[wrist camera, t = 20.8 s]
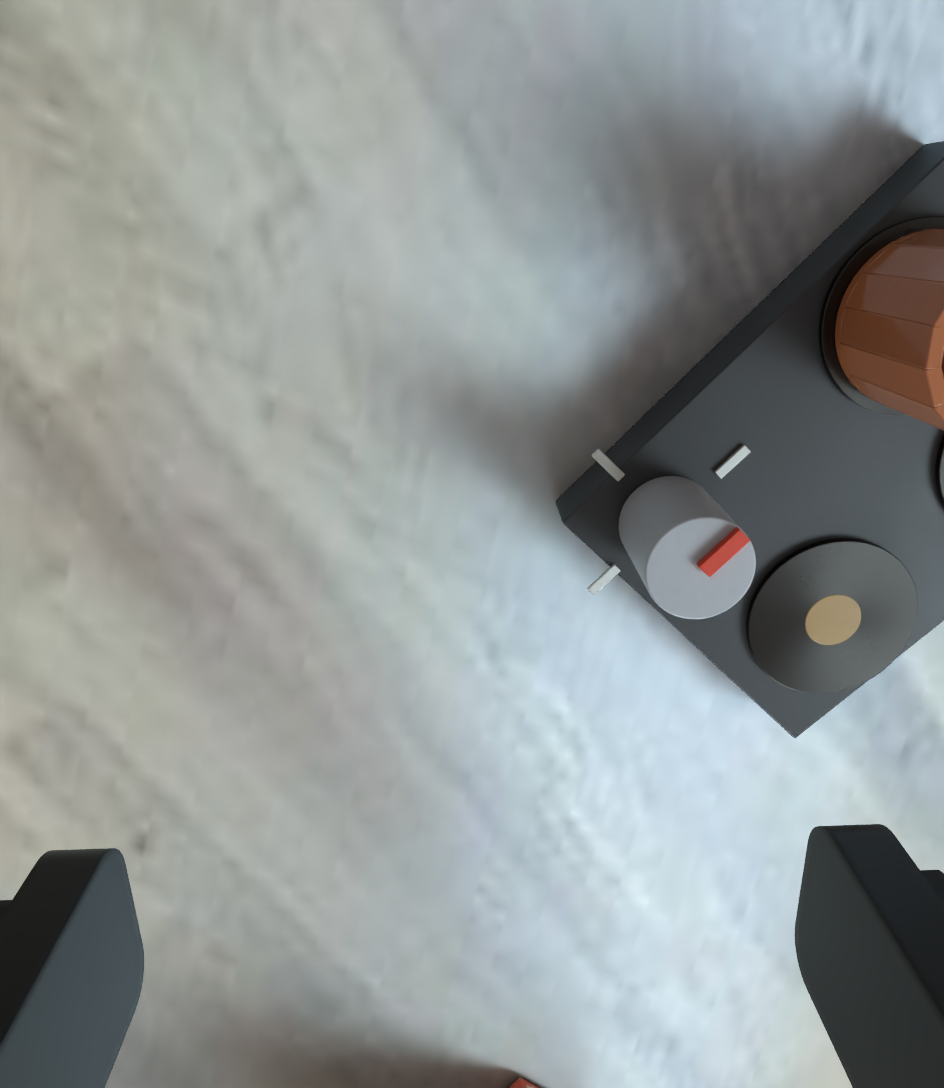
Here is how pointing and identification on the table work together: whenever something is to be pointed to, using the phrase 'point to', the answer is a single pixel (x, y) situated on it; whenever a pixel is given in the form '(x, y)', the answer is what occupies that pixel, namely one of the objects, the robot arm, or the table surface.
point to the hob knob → (686, 548)
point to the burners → (838, 561)
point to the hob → (785, 454)
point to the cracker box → (522, 1084)
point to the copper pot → (898, 327)
